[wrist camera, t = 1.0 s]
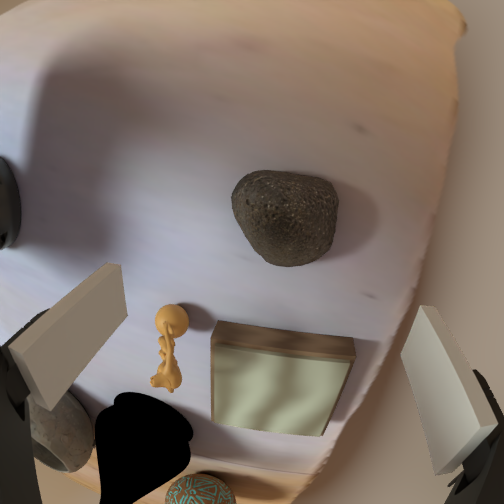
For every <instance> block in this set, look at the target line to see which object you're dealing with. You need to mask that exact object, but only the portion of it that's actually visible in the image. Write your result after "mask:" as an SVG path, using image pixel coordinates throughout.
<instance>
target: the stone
mask: <svg viewBox="0 0 504 504" xmlns="http://www.w3.org/2000/svg"><path fill="white" fill-rule="evenodd" d="M231 199H232V209H233V212H234V216H235V218H236V220H237V222H238V224H239V225H240V227H241V229H242V231H243V233H244V234H245V237H246V238H247V239H248V241H249V242H250V244H251V246H252V247H253V249H254V250H255V251H256V252H257V253H258V254H259V255H261V256H262V257H263V258H264V260H265V261H266V262H268V263H270V264H273V265H276V266H284V267H293V266H302V265H305V264H308V263H311V262H313V261H315V260H317V259H319V258H320V257H321V256H322V255H324V254H325V253H326V252H327V251H328V250H329V249H330V247H331V245H332V242H333V236H334V233H335V226H336V220H337V210H338V203H339V200H338V196H337V193H336V191H335V189H334V187H333V185H332V184H331V183H330V182H328V181H325V180H323V179H321V178H317V177H308V176H302V175H295V174H291V173H287V172H279V171H271V170H261V171H255V172H252V173H250V174H247V175H246V176H244V177H243V178H242V179H241V180H240V181H239V182H238V184H237V185H236V187H235V189H234V191H233V193H232V197H231Z"/></svg>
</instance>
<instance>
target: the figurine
mask: <svg viewBox="0 0 504 504" xmlns="http://www.w3.org/2000/svg"><path fill="white" fill-rule="evenodd" d="M155 325H156V328H157V330H158V331H159V332H160V333H161V334H162V335H163V336H161V337H159V339H158V342H159V344H160V346H161V350H160V351H159V355H160V356H161V358H162V360H163V362H162V363H161V364H160V365H159V367H158V370H157V375H155V376H152V377H151V378H150V379H151V381H150V384H151V386H153V387H166V388H167V389H168V391H169V392H170V393H173V392H174V389H176V388H178V387H179V386H180V385H181V382H182V375H181V372H180V369H179V367H178V365H177V360H176V359H175V357H174V355H173V353H174V346H175V342H174V339H173V338H178V337H180V336H182V335H183V334H184V333H185V332H186V331H187V329H188V326H189V318H188V315H187V313H186V311H185V310H184V309H183V308H182V307H180V306H178V305H174V304H169V305H165V306H163V307H162V308H161V309H160V310H159V311H158V312H157V314H156V317H155Z"/></svg>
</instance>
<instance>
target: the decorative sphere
mask: <svg viewBox="0 0 504 504" xmlns="http://www.w3.org/2000/svg"><path fill="white" fill-rule="evenodd" d="M165 504H236V499H235V496H234V494H233V492H232V491H231V489H230V488H229V486H228V485H226V484H225V483H224V482H223V481H222V480H220V479H218V478H216V477H213V476H210V475H207V474H190V475H186V476H184V477H181V478H179V479H178V480H176V481H175V482H174V483H173V484H172V485H171V486H170V488H169V489H168V491H167V494H166V498H165Z"/></svg>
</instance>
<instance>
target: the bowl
mask: <svg viewBox="0 0 504 504" xmlns="http://www.w3.org/2000/svg"><path fill="white" fill-rule="evenodd" d="M27 400H28V402H29V412H30V427H31V438H32V447H33V455H34V457H35V458H36V459H38V460H39V461H40V462H42V463H43V464H45V465H46V466H48V467H50V468H52V469H54V470H57V471H59V472H63V473H72V472H76V471H77V470H79V469H80V468H82V467H83V466H84V465H85V464H86V463H87V461H88V460H89V458H90V456H91V453H92V450H93V448H94V449H95V447H96V441H95V440H94V433H93V428H92V425H91V422H90V419H89V417H88V415H87V413H86V411H85V409H84V408H83V406H82V405H81V404H80V402H79V401H78V400H77V399H76V398H75V397H74V396H73V395H72V394H71V393H70V392H69V391H68V390H67V391H66V392H65V393H64V395H63V396H62V397H61V399H60V400H59V401H58V403H57V404H56V405H55V407H54V408H53V409H52V411H49V410H47V409H45V408H43V407H42V406H40V405H38V404H36V402H35V400H34V398H33V396H32V395H31V393H30V394H29V395H28V396H27Z"/></svg>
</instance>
